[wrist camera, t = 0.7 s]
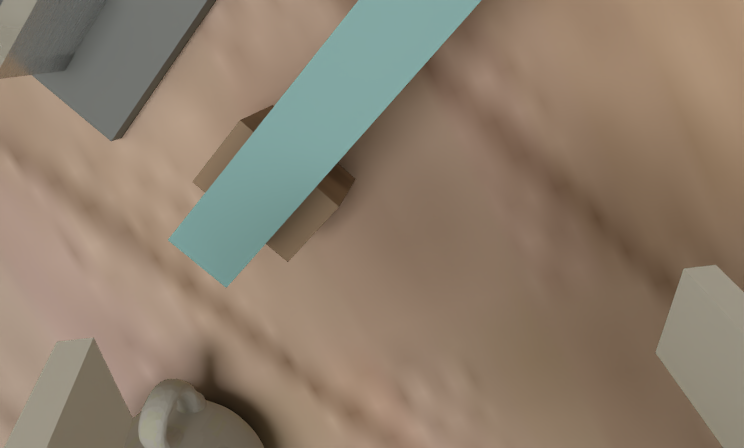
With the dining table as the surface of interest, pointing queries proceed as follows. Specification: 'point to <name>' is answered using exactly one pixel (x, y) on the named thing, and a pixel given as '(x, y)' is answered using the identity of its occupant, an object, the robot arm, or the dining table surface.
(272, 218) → the slat
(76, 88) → the cap board
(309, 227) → the block
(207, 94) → the dining table surface
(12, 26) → the end caps
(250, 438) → the teacup
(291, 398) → the dining table surface
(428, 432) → the dining table surface
